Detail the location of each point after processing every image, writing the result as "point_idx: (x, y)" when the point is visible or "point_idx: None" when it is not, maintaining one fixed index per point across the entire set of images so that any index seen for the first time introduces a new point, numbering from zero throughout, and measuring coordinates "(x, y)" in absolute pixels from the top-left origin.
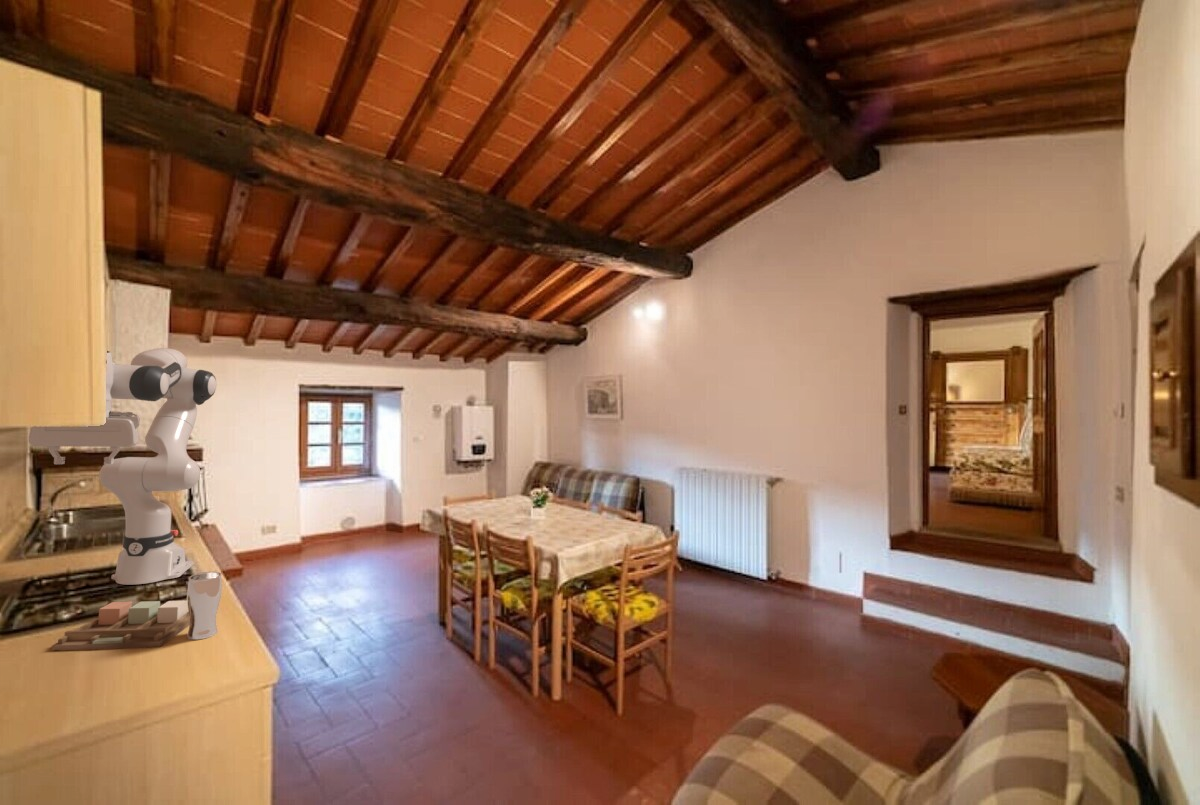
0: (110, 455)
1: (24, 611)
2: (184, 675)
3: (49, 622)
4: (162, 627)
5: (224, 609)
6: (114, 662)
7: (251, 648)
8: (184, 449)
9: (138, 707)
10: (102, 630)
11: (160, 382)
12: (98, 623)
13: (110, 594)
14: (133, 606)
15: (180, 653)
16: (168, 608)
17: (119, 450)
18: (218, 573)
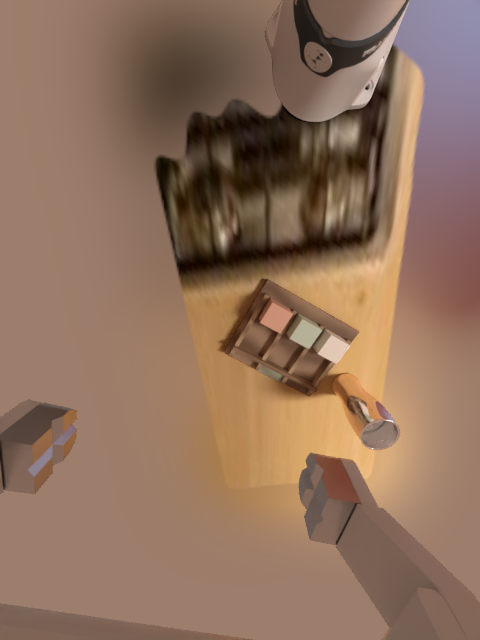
0: (357, 571)
1: (172, 183)
2: None
3: (209, 255)
4: (315, 360)
5: (382, 321)
6: (274, 405)
7: None
8: None
9: (287, 481)
10: (264, 364)
11: None
12: (259, 316)
13: (266, 158)
14: (294, 334)
15: (321, 416)
16: (327, 358)
17: (466, 603)
18: (397, 429)
